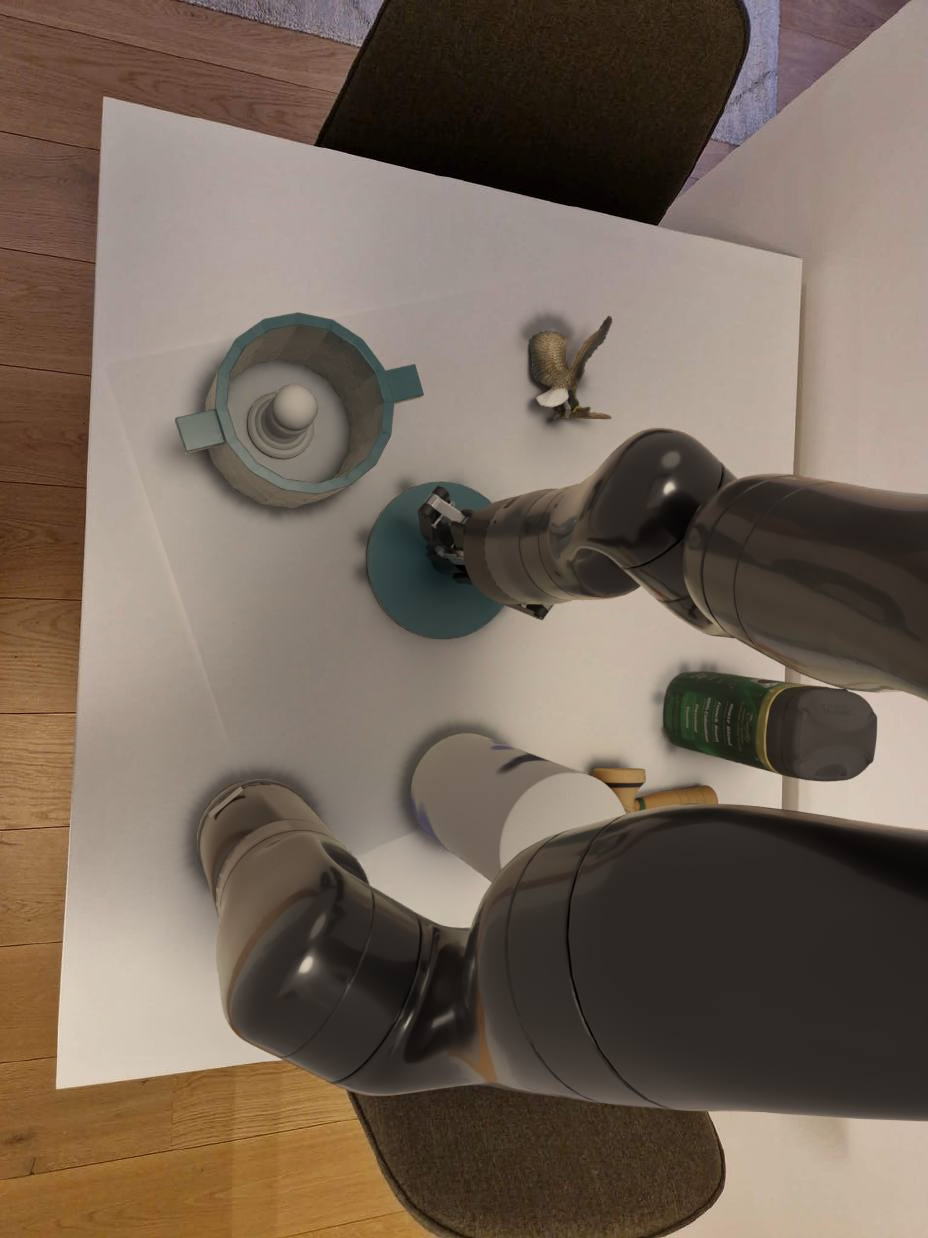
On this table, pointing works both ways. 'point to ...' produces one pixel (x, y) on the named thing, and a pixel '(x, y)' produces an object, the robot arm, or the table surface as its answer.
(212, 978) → the table surface
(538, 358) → the eagle figurine
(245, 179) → the table surface
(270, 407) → the chess piece
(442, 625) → the lid
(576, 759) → the table surface
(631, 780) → the kendama
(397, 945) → the robot arm
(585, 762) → the table surface
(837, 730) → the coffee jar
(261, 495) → the pot
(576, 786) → the container
